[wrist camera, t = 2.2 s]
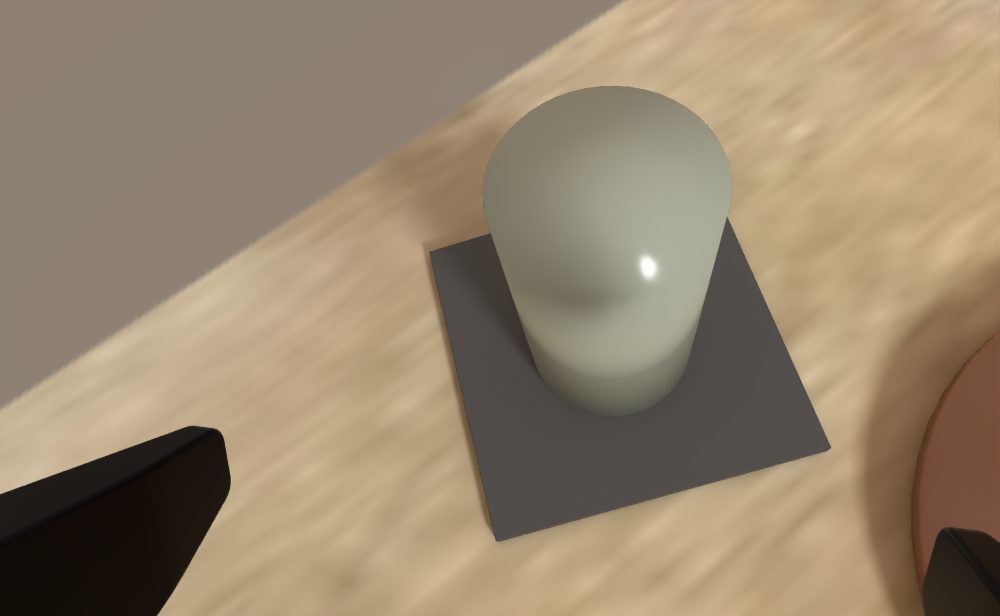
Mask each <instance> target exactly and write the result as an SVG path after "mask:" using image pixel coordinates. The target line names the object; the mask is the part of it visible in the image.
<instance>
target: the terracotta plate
mask: <svg viewBox="0 0 1000 616" xmlns="http://www.w3.org/2000/svg"><path fill="white" fill-rule="evenodd" d="M945 527H956V528H963V529H971V530H979V531H983V532H985V533H987V534H989V535H990V536H992V537H993V538H994V539H996V540H997V541H999V542H1000V332H998V333H997V334H995V335H994V336H993V337H991V338H990V339H989V340H988V341H987V342H986V343H985V344H984V345H983V346H982V347H981V348H980V349H979V350H978V351H977V352H976V353H975V354H974V355H973V356H972V357H971V358H970V359H969V360H968V361H967V362H966V363H965V364H964V365H963V366H962V368H961V369H960V370H959V372H958V373H957V375H956V376H955V377H954V379H953V380H952V381H951V383H950V384H949V385H948V387H947V388H946V390H945V391H944V393H943V395H942V397H941V399H940V401H939V403H938V405H937V407H936V409H935V411H934V413H933V415H932V417H931V419H930V421H929V423H928V426H927V429H926V432H925V435H924V438H923V442H922V445H921V448H920V451H919V454H918V458H917V464H916V471H915V477H914V484H913V490H912V543H913V550H914V558H915V565H916V573H917V580H918V583H919V587H920V591H921V595H922V585H923V580H924V577H925V574H926V570H927V567H928V563H929V560H930V557H931V553H932V550H933V547H934V543H935V540H936V537H937V535H938V533H939V532H940V530H941V529H943V528H945Z"/></svg>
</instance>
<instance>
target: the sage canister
mask: <svg viewBox="0 0 1000 616" xmlns="http://www.w3.org/2000/svg"><path fill="white" fill-rule="evenodd" d="M731 192H732V183H731V173H730V168H729V163H728V160H727V157H726V155H725V152H724V149H723V147H722V146H721V144H720V142H719V140H718V139H717V137H716V135H715V134H714V133H713V132H712V130H711V129H710V128H709V126H708V125H707V124H706V123H705V122H704V121H703V120H702V119H701V118H700V117H699V116H697V115H696V114H695V113H693V112H692V111H691V110H689V109H688V108H687V107H685V106H684V105H682V104H680V103H678V102H676V101H675V100H673V99H671V98H668V97H666V96H663V95H661V94H658V93H655V92H651V91H648V90H644V89H639V88H633V87H623V86H599V87H592V88H585V89H581V90H577V91H573V92H569V93H566V94H563V95H561V96H558V97H555V98H553V99H551V100H549V101H547V102H545V103H543V104H541V105H539V106H538V107H536V108H535V109H533V110H531V111H530V112H529V113H527V114H526V115H525V116H524V117H522V118H521V119H520V120H519V121H518V122H517V123H516V124H515V125H514V126H513V127H512V128H511V129H510V130H509V131H508V132H507V133H506V134H505V136H504V137H503V138H502V140H501V141H500V142H499V144H498V146H497V147H496V149H495V151H494V153H493V155H492V157H491V159H490V162H489V164H488V167H487V171H486V174H485V178H484V186H483V207H484V212H485V217H486V221H487V224H488V227H489V230H490V232H491V235H492V238H493V241H494V244H495V247H496V250H497V253H498V256H499V259H500V262H501V265H502V268H503V271H504V274H505V277H506V280H507V283H508V285H509V288H510V291H511V294H512V297H513V300H514V303H515V306H516V309H517V312H518V315H519V318H520V321H521V324H522V327H523V330H524V333H525V335H526V338H527V341H528V344H529V347H530V350H531V353H532V356H533V359H534V362H535V365H536V368H537V370H538V372H539V374H540V376H541V378H542V380H543V381H544V383H545V384H546V385H547V387H548V388H549V389H550V390H551V391H552V392H553V393H554V394H555V395H556V396H557V397H558V398H559V399H561V400H562V401H563V402H565V403H566V404H568V405H570V406H571V407H573V408H575V409H578V410H580V411H582V412H586V413H589V414H593V415H599V416H610V417H615V416H625V415H630V414H634V413H637V412H640V411H643V410H645V409H647V408H649V407H651V406H653V405H655V404H656V403H658V402H659V401H661V400H662V399H664V398H665V397H666V396H667V395H668V394H669V393H670V392H671V391H672V390H673V389H674V387H675V386H676V385H677V384H678V382H679V381H680V379H681V377H682V376H683V374H684V371H685V369H686V367H687V363H688V360H689V356H690V352H691V349H692V345H693V341H694V337H695V334H696V330H697V326H698V322H699V319H700V315H701V311H702V308H703V304H704V300H705V296H706V293H707V289H708V285H709V281H710V278H711V274H712V270H713V266H714V263H715V259H716V255H717V251H718V248H719V244H720V240H721V237H722V233H723V229H724V225H725V222H726V218H727V214H728V210H729V207H730V201H731Z"/></svg>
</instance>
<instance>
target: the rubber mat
mask: <svg viewBox="0 0 1000 616" xmlns="http://www.w3.org/2000/svg"><path fill="white" fill-rule="evenodd" d="M430 257H431V261H432V265H433V270H434V274H435V278H436V283H437V287H438V291H439V296H440V300H441V305H442V309H443V313H444V318H445V322H446V326H447V331H448V335H449V339H450V344H451V348H452V352H453V357H454V361H455V365H456V370H457V374H458V378H459V383H460V387H461V391H462V396H463V400H464V404H465V409H466V413H467V417H468V422H469V426H470V430H471V435H472V439H473V443H474V448H475V452H476V456H477V461H478V465H479V469H480V474H481V478H482V482H483V487H484V491H485V495H486V500H487V504H488V508H489V513H490V517H491V521H492V526H493V530H494V534H495V539H496V541H498V542H499V541H503V540H506V539H510V538H514V537H517V536H521V535H525V534H528V533H532V532H535V531H539V530H543V529H546V528H550V527H553V526H557V525H561V524H564V523H568V522H572V521H575V520H579V519H582V518H586V517H590V516H593V515H597V514H601V513H604V512H608V511H611V510H615V509H619V508H622V507H626V506H630V505H633V504H637V503H640V502H644V501H648V500H651V499H655V498H658V497H662V496H666V495H669V494H673V493H677V492H680V491H684V490H687V489H691V488H695V487H698V486H702V485H706V484H709V483H713V482H716V481H720V480H724V479H727V478H731V477H735V476H738V475H742V474H745V473H749V472H753V471H756V470H760V469H763V468H767V467H771V466H774V465H778V464H782V463H785V462H789V461H792V460H796V459H800V458H803V457H807V456H811V455H814V454H818V453H821V452H825V451H828V450H829V449H830V448H831V446H830V444H829V442H828V440H827V437H826V435H825V433H824V431H823V428H822V426H821V424H820V422H819V420H818V417H817V415H816V413H815V411H814V408H813V406H812V404H811V402H810V400H809V397H808V395H807V393H806V391H805V388H804V386H803V384H802V382H801V380H800V377H799V375H798V373H797V371H796V369H795V366H794V364H793V362H792V360H791V357H790V355H789V353H788V351H787V349H786V346H785V344H784V342H783V340H782V337H781V335H780V333H779V331H778V329H777V326H776V324H775V322H774V320H773V317H772V315H771V313H770V311H769V309H768V306H767V304H766V302H765V300H764V298H763V295H762V293H761V291H760V289H759V286H758V284H757V282H756V280H755V278H754V275H753V273H752V271H751V269H750V266H749V264H748V262H747V260H746V258H745V255H744V253H743V251H742V249H741V246H740V244H739V242H738V240H737V238H736V235H735V233H734V231H733V229H732V227H731V224H730V222H729V220H728V218H726V222H725V225H724V229H723V233H722V237H721V240H720V244H719V248H718V251H717V255H716V259H715V263H714V266H713V270H712V274H711V278H710V281H709V285H708V289H707V293H706V296H705V300H704V304H703V308H702V311H701V315H700V319H699V322H698V326H697V330H696V334H695V337H694V341H693V345H692V349H691V352H690V356H689V360H688V363H687V367H686V369H685V371H684V374H683V376H682V377H681V379H680V381H679V382H678V384H677V385H676V386H675V387H674V389H673V390H672V391H671V392H670V393H669V394H668V395H667V396H666V397H665V398H664V399H662V400H661V401H659V402H658V403H656V404H655V405H653V406H651V407H649V408H647V409H645V410H643V411H640V412H637V413H634V414H630V415H625V416H615V417H610V416H599V415H593V414H589V413H586V412H582V411H580V410H578V409H575V408H573V407H571V406H570V405H568V404H566V403H565V402H563V401H562V400H561V399H559V398H558V397H557V396H556V395H555V394H554V393H553V392H552V391H551V390H550V389H549V388H548V387H547V385H546V384H545V383H544V381H543V380H542V378H541V376H540V374H539V372H538V370H537V368H536V365H535V362H534V359H533V356H532V353H531V350H530V347H529V344H528V341H527V338H526V335H525V333H524V330H523V327H522V324H521V321H520V318H519V315H518V312H517V309H516V306H515V303H514V300H513V297H512V294H511V291H510V288H509V285H508V283H507V280H506V277H505V274H504V271H503V268H502V265H501V262H500V259H499V256H498V253H497V250H496V247H495V244H494V241H493V238H492V235H491V234H488V235H484V236H481V237H478V238H474V239H471V240H467V241H464V242H461V243H457V244H454V245H450V246H447V247H444V248H440V249H437V250H434V251H430Z"/></svg>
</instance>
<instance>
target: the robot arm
mask: <svg viewBox="0 0 1000 616" xmlns="http://www.w3.org/2000/svg"><path fill="white" fill-rule="evenodd" d="M230 485H231V476H230V471H229V465H228V459H227V453H226V448H225V442H224V438H223V435H222V434H221V432H220V431H219V430H217V429H215V428H207V427H200V426H188V427H185V428H182V429H179V430H176V431H174V432H171V433H168V434H165V435H163V436H160V437H157V438H154V439H152V440H149V441H146V442H143V443H141V444H138V445H135V446H132V447H130V448H127V449H124V450H121V451H118V452H116V453H113V454H110V455H107V456H105V457H102V458H99V459H96V460H94V461H91V462H88V463H85V464H83V465H80V466H77V467H74V468H72V469H69V470H66V471H63V472H61V473H58V474H55V475H52V476H49V477H47V478H44V479H41V480H38V481H36V482H33V483H30V484H27V485H25V486H22V487H19V488H16V489H14V490H11V491H8V492H5V493H3V494H0V616H157V615H158V614H159V612H160V611H161V609H162V608H163V606H164V605H165V603H166V602H167V600H168V599H169V597H170V596H171V594H172V593H173V591H174V590H175V588H176V586H177V585H178V583H179V581H180V580H181V578H182V576H183V575H184V573H185V571H186V569H187V568H188V566H189V564H190V562H191V560H192V559H193V557H194V555H195V553H196V552H197V550H198V548H199V546H200V544H201V543H202V541H203V539H204V537H205V536H206V534H207V532H208V530H209V528H210V527H211V525H212V523H213V521H214V520H215V518H216V516H217V514H218V512H219V511H220V509H221V507H222V505H223V504H224V502H225V500H226V498H227V496H228V493H229V490H230ZM922 602H923V607H924V612H925V616H1000V542H999V541H997V540H996V539H994V538H993V537H992V536H990V535H989V534H987V533H985V532H983V531H979V530H971V529H963V528H956V527H945V528H943V529H941V530H940V532H939V533H938V535H937V537H936V540H935V543H934V547H933V550H932V553H931V557H930V560H929V563H928V567H927V570H926V574H925V577H924V580H923V585H922Z"/></svg>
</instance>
